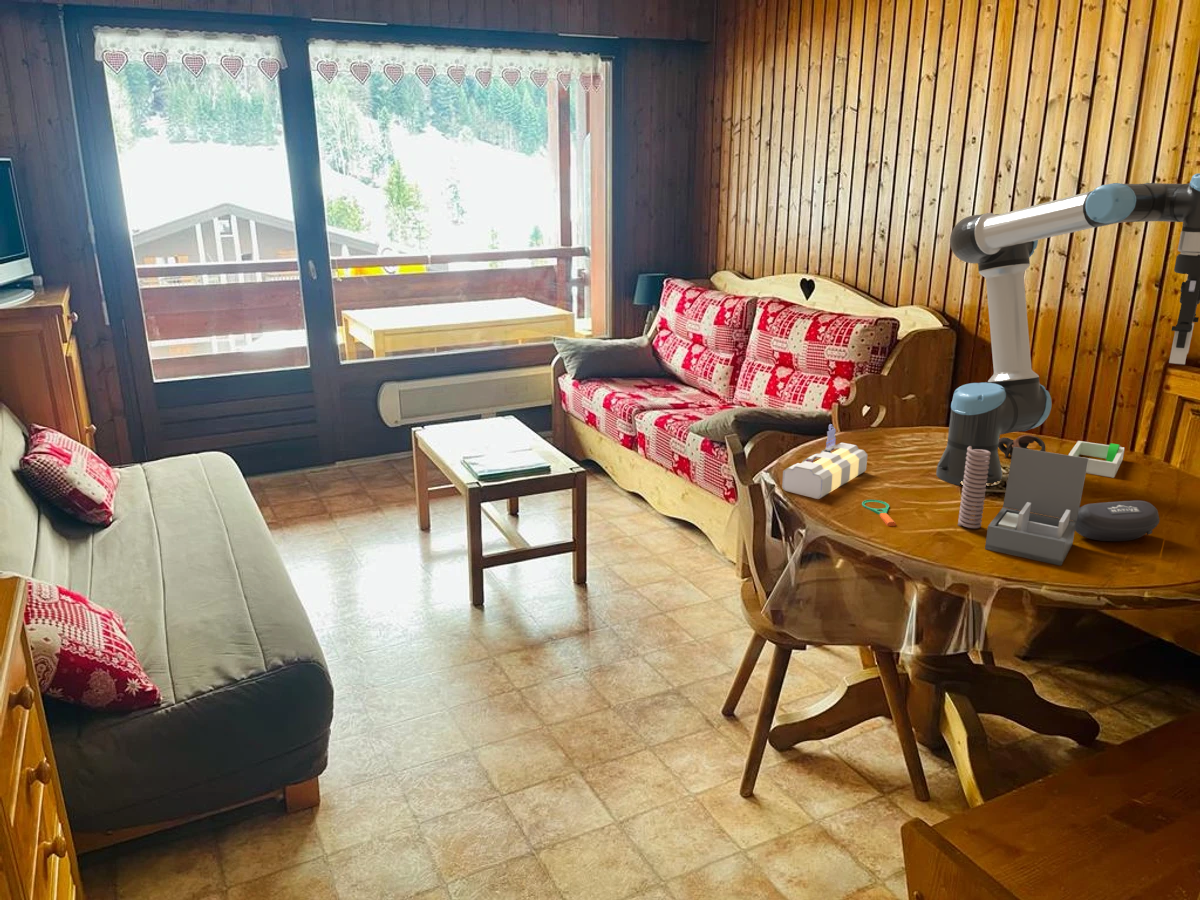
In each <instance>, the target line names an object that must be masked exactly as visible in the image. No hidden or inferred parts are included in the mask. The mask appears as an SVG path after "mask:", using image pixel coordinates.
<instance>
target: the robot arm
mask: <svg viewBox="0 0 1200 900" xmlns="http://www.w3.org/2000/svg"><path fill="white" fill-rule="evenodd" d="M1139 222H1141V223H1143V222H1147V223H1148V222H1173V223H1174V222H1176V223H1182V225H1181V226H1182V228H1181V231H1180V236H1179V242H1178V245H1177V246H1178V247H1177V251H1178V252H1180V253H1179V254H1177V255H1176V258H1175V264H1174V269H1173V271H1174V273H1176V274H1181V275H1187V279H1186V280H1185V281H1182V283H1181V284H1180V285H1181V286H1180V297H1179V304H1180V308H1179V313H1178V317H1177V323H1176V325H1172V326H1171V331H1172V332H1174V336H1173V341H1172V345H1171V350H1170V355H1169V360H1168V363H1169V364H1175V365H1186V359H1187V355H1188V354H1189V351H1190V346H1191V340H1192V337H1193V330H1194V328H1195V327H1194V326H1195V323H1199V317H1197V313H1196V312H1197V309H1198V305H1199V304H1200V172H1199V173H1195V174H1193V175H1192V176H1191V179H1190V181H1189V183H1188V182H1187V183H1161V182H1160V183H1157V182H1146V183H1118V182H1113V183H1108V184H1101V185H1099V186H1098V187H1096V188H1094V190H1090V191H1086V192H1082V193H1078V194H1075V195H1071V196H1067V197H1063V198H1059V199H1056V200H1050V201H1047V202H1043V203H1040V204H1036V205H1030V206H1027V207H1024V208H1019V209H1015V210H1012V211H1007V212H1005V213H996V214H995V213H993V212H986V213H982V214H973V215H969V216H966V217H965V218H964V217H963V218H962V219H960V220H959V221H958V222H957V223H956V224H955V226H954V227H953V228H952V230H951V233H950V237H949V244H950V248H951V251H952V253H953V255H955V257H956V258H958V259H959V260H960V261H962V262H964V263H968V264H977V268H978V274H979V275H980V276H982V277H984V279H985V283H986V297H987V307H988V319H989V321H988V322H989V328H990V331H989V333H990V341H991V342H990V343H991V354H992V356H991V357H992V364H993V367H992V368H993V374H992V375H991V377H990V378H989V379H988V380H987V382H986V381H985V382H970V383H966V384H962V385H961V386H959V387H957V388H956V389H955V390H954V392H953V396H952V401H951V403H950V415H949V424H948V435H947V444H946V447H945V449H944V451H943V453H942V454H941V457H940V459H939V461H938V463H937V467H936V472H935V474H936V476H937V478H938V479H940V480H942V481H944V482H946V483H949V484H952V485H956V486H961V485H960V482H961V481H963V480H964V474H965V473H964V471H965V470H966V469H965V466H966V464H965V462H966V461H967V460H966V457H967V452H968V451H967V448H968V447H969V446H971V447H972V450H974V449H982V450H987V451H990V452H991V455H990V456H989V457H990V460H988V461H989V462H990V463H989V465H988V466H989V469H987V470H988V474H987V475H988V477H987V478H986V479H987V482H986V483H994V482H997V481H1000V480H1001V479H1003V470H1002V465H1001V460H1000V455H999V452H998V451H999V448H998V444H999V439H1000V436H1001V435H1005V434H1006V435H1007V434H1011V433H1016V432H1026V431H1029V430H1031V429H1035V428H1037V427H1039V426H1041V425H1042V424H1044V422H1045V421H1046V420H1047V419H1048V417H1049V416H1050V414H1051V410H1052V397H1051V395H1050V392H1049V390H1046V387H1045V386H1044V385H1042V384H1041V383H1040V376H1039V374H1038V373H1036V372H1035V371H1034V370H1033V369H1032V360H1031V358H1032V357H1031V348H1030V347H1031V346H1030V335H1029V323H1028V309H1027V299H1026V288H1025V275H1024V274H1025V272H1026V271H1027V269H1029V267H1030V266H1031V263H1030V257H1032V256H1033V254H1035V250H1036V249H1037V247H1038V244H1039V241H1040V240H1043V239H1048V238H1052V237H1057V236H1062V235H1067V234H1072V233H1076V232H1080V231H1085V230H1089V229H1094V228H1095V229H1096V228H1100V227H1105V226H1110V225H1114V224H1119V223H1139ZM970 459H971V458H970ZM969 468H970V467H969ZM1001 481H1002V480H1001Z"/></svg>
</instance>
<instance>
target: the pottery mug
mask: <svg viewBox="0 0 1200 900" xmlns="http://www.w3.org/2000/svg"><path fill="white" fill-rule="evenodd" d="M1035 442H1036V443H1037V444H1038V446H1039V447H1041V449H1040V450H1039V451H1044V452H1047V451H1046V444H1045V442H1044V440H1042V439H1041V438H1039V437H1038V436H1034V435H1032V434H1022V435H1020V436H1018V437H1016V439H1011V438H1009V437H1004V436H1003V437H1001V438H1000V437H999V444H998V450H999V451H1001V452H1002V453H1003V454H1004V456H1005V457H1006V458H1008V457H1009V456H1010V457H1012V452H1013V447H1018V448H1025V449H1029V448H1028V446H1029V445H1030V444H1033V443H1035Z"/></svg>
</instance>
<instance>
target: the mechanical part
mask: <svg viewBox="0 0 1200 900" xmlns="http://www.w3.org/2000/svg"><path fill="white" fill-rule="evenodd" d="M1108 445H1109V449H1108V453H1107V458H1106V459H1105V461H1109V462H1113V460H1114V458H1115V456H1116V454H1117V452H1118V450H1119V447H1121V445H1120V444H1119V443H1118V444H1117V443H1109V444H1108Z"/></svg>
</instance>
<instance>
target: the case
mask: <svg viewBox="0 0 1200 900" xmlns="http://www.w3.org/2000/svg"><path fill="white" fill-rule="evenodd" d="M1010 458H1011V459H1010V464H1009V470H1008V476H1007V482H1006V487H1005V494H1004V499H1003V505H1002V508H1001V509H1000V510H999V512H998V513H997V514H996V516H994V517H993V519H992V520H991V521H990V523H989V524H988V526H987V530H986V538H985V546H984V549H985V550H988V551H993V552H997V553H1001V554H1007V555H1011V556H1014V557H1015V556H1016V557H1021V558H1025V559H1028V560H1033V561H1037V562H1041V563H1042V562H1043V563H1047V564H1051V565H1055V566H1063V563H1064V561H1065V560H1066V558H1067V555H1068V553H1069V551H1070V550H1071V549H1072V546H1073V542H1074V537H1075V533H1076V531H1075V526H1076V521H1077V517H1078V512H1079V507H1081V506H1080V505H1081V502H1082V495H1083V489H1084V484H1085V479H1086V474H1087V473H1086V470H1087V464H1088V459H1089V458H1090V457H1089V458H1088V457H1081V456H1078V457H1076V456H1070V455H1067V454H1062V453H1058V452H1057V453H1055V452H1049V451H1046V452H1044V451H1040V450H1037V449H1030V448H1028V449H1025V448H1018V447H1013V452H1012V456H1011V457H1010Z"/></svg>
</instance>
